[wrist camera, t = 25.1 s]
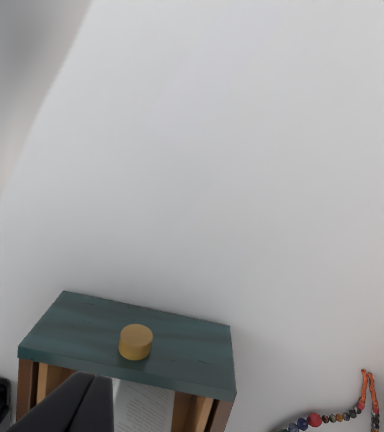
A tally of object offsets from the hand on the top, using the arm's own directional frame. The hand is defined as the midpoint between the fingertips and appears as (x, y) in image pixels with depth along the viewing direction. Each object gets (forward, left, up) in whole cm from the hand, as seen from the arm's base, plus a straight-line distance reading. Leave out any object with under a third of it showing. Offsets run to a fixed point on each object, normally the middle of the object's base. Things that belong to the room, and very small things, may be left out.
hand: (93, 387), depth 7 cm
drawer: (0, -13, -13) cm, 18 cm away
